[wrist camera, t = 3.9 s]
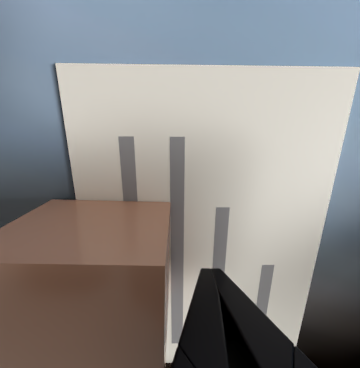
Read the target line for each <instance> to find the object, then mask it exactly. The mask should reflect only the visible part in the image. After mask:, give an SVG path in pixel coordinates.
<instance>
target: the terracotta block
mask: <svg viewBox="0 0 360 368" xmlns="http://www.w3.org/2000/svg"><path fill="white" fill-rule="evenodd" d="M170 207H171V202H143V201H100V200H57V199H52V200H50V201H48V202H46V203H45V204H43V205H41V206H39V207H37V208H36V209H34V210H32V211H30V212H28V213H27V214H25V215H23V216H21V217H19V218H17V219H16V220H14V221H12V222H10V223H8V224H7V225H5V226H3V227H1V228H0V368H165V365H166V344H167V323H168V302H169V259H170Z"/></svg>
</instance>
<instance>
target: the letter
mask: <svg viewBox="0 0 360 368" xmlns="http://www.w3.org/2000/svg"><path fill="white" fill-rule="evenodd" d="M55 64H56V71H57V78H58V84H59V91H60V97H61V104H62V111H63V117H64V124H65V130H66V137H67V144H68V150H69V157H70V163H71V170H72V176H73V183H74V190H75V196H76V200H100V201H143V202H171V207H170V259H169V302H168V323H167V344H166V363H172V361H173V358H174V355H175V352H176V348H177V347H178V342H179V339H180V336H181V332H182V329H183V326H184V322H185V319H186V316H187V313H188V309H189V306H190V303H191V299H192V296H193V293H194V289H195V286H196V283H197V280H198V276H199V273H200V270H201V268H210V269H211V268H220V269H221V270H222V271H223V272H224V273H225V274H226V275H227V276H228V277H229V278H230V279H231V280H232V281H233V282H234V283H235V284H236V285H237V286H238V287H239V288H240V289H241V290H242V291H243V292H244V293H245V294H246V295H247V296H248V297H249V298H250V299H251V300H252V301H253V302H254V303H255V304H256V305H257V306H258V307H259V308H260V310H261V311H262V312H263V313H264V314H265V315H266V316H267V317H268V318H269V319H270V320H271V321H272V322H273V323H274V324H275V325H276V326H277V327H278V328H279V329H280V330H281V331H282V332H283V333H284V334H285V335H286V336H287V337H288V338H289V339H290V340H291V341H292V342H293V343H294V346H296V345H297V341H298V336H299V332H300V328H301V323H302V319H303V315H304V310H305V306H306V302H307V297H308V293H309V288H310V284H311V280H312V275H313V271H314V267H315V262H316V258H317V254H318V249H319V245H320V241H321V236H322V232H323V228H324V223H325V219H326V215H327V210H328V206H329V201H330V197H331V193H332V188H333V184H334V180H335V175H336V171H337V167H338V162H339V158H340V154H341V149H342V145H343V141H344V136H345V132H346V128H347V123H348V119H349V115H350V110H351V106H352V101H353V97H354V93H355V88H356V84H357V80H358V75H359V71H360V67H320V66H240V65H161V64H81V63H55Z"/></svg>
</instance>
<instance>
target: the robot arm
mask: <svg viewBox="0 0 360 368" xmlns="http://www.w3.org/2000/svg"><path fill="white" fill-rule="evenodd" d="M170 368H317V367H316V366H315V365H314V364H313V363H312V362H311V361H310V360H309V359H308V358H307V357H306V356H305V355H304V354H303V352H302V351H301V350H300V349H299V348H298V347H297V346H294V343H293V342H292V341H291V340H290V339H289V338H288V337H287V336H286V335H285V334H284V333H283V332H282V331H281V330H280V329H279V328H278V327H277V326H276V325H275V324H274V323H273V322H272V321H271V320H270V319H269V318H268V317H267V316H266V315H265V314H264V313H263V312H262V311H261V310H260V308H259V307H258V306H257V305H256V304H255V303H254V302H253V301H252V300H251V299H250V298H249V297H248V296H247V295H246V294H245V293H244V292H243V291H242V290H241V289H240V288H239V287H238V286H237V285H236V284H235V283H234V282H233V281H232V280H231V279H230V278H229V277H228V276H227V275H226V274H225V273H224V272H223V271H222V270H221V269H220V268H211V269H210V268H201V270H200V273H199V276H198V280H197V283H196V286H195V289H194V293H193V296H192V299H191V303H190V306H189V309H188V313H187V316H186V319H185V322H184V326H183V329H182V332H181V336H180V339H179V342H178V347H177V348H176V352H175V355H174V358H173V361H172V364H171V367H170Z"/></svg>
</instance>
